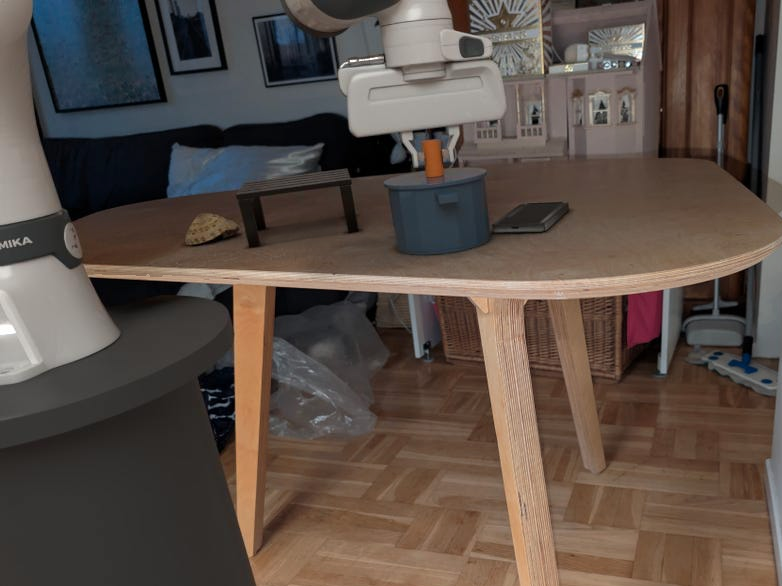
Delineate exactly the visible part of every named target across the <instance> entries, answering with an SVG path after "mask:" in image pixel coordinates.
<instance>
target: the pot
mask: <svg viewBox="0 0 782 586" xmlns="http://www.w3.org/2000/svg"><path fill="white" fill-rule="evenodd" d="M387 190H388V197H389V205H390V210H391V217H392V223H393V230H394V237H395V244H396V246H397V250H398V251H399V252H401V253H403V254H408V255H416V256H417V255H418V256H427V255H430V256H431V255H444V254H451V253H456V252H462V251H467V250H470V249H475V248H476V247H479V246H482V245H484V244H486V243H487V242H489V240H490V237H491V227H490V218H489V217H490V216H489V208H488V207H489V206H488V198H487V196H488V195H487V186H486V176H485V177H483V178H481V179H478V180H475V181H471V182H467V183H462V184H457V185H451V186H444V187H436V188H427V189H412V190H396V189H388V188H387Z"/></svg>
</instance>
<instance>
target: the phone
mask: <svg viewBox="0 0 782 586" xmlns="http://www.w3.org/2000/svg"><path fill="white" fill-rule="evenodd" d="M569 210H570V205H569V201H552V202H551V201H550V202H549V201H548V202H526V203H525V202H524V203H520V204H519V205H517V206H515V207H514V208H513V209H511V210H509V211H508V212H507V213H506V214H503V215H502V216H501V217H499V218H498V219H497V220H495V221H494V222H492V223H491V228H492V233H495V234H509V233H512V234H513V233H541V232H545V231H547V230H549V229H550V228H551V227H552V226H553V225H554V224H556V222H557V221H559V220H560V219H561V218H562V217H563V216H565V214H567V213H568V212H569Z"/></svg>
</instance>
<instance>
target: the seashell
mask: <svg viewBox="0 0 782 586" xmlns="http://www.w3.org/2000/svg"><path fill="white" fill-rule="evenodd" d="M241 228H242V227H240V225H239V224H238V223H236V222H234V221H233V220H230V219H226V218H225V217H224V216H222V215H218V214H214V213H208V212H200V213H199V214H198V215H197V216H196V217H195V218H194V219H193V221H192V222H191V225H190V226H189V228H188V231H187V233H186V235H185V238H184V240H185V245H187V246H192V245H199V244H202V243H206V242H209V241H211V240H214V239H215V238H217V237H219V236H221V237H222V239H226V238H227V237H231V236H233V235H235V234H236V233H238V232H239V231H240V230H241Z"/></svg>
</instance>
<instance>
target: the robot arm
mask: <svg viewBox="0 0 782 586" xmlns="http://www.w3.org/2000/svg"><path fill="white" fill-rule="evenodd" d="M279 1H280V4H281V7H282V9H283V11H284V13H285V14H286V16H287V18H288V19H289V21H290V22H291V23H292V24H293V25H294V26H295V27H296V28H297V29H299V30H300V31H301V32H303V33H305V34H307V35H309V36H312V37H315V38H319V39H331V38H334V37H337V36H340V35H341V34H343V33H345V32H346V31H347V30H348V29H350V28H351V27H353V26H355V25H356V24H359V22H362V21H363V20H365V19H367V18H375V19H376V20H377V21H378V23H379V31H380V39H381V43H382V44H381V45H382V50H383V51H382V52H383V53H377V54H369V55H366V56H351V57H348V58H347V59H346V60H347V61H344V62H342V64H340V66H339V67H338V69H337V74H336V75H337V81H338V88H339V90H340V92H341V94H342V95H343V96H344V97H345V98H346V115H347V124H348V130H349V133H350V134H351V135H353V136H354V137H356V138H364V137H365V138H366V137H372V136H381V135H388V134H389V135H390V134H397V133H398V134H399V137H400V142H401V143H402V144H403V146H404V147H405V148H406V149H407V151H408V152H409V153H410V155H411V162H412V167H413V168H414V169H419V168H425V166H426V164H425V161H424V159H425V156H424V153H423V151H417V150H416V149H415V147H414V146H413V145H412V143H411V142H410V141H413V140H414V133H413V131H421V130H430V129H436V128H438V129H439V128H445V131H446V132H445V133H446V135H448V136H449V138H448V141H447V144H446V146H445V148H441V153H442V161H443V165H447V164H454V163H455V155H454V149H455V147H456V145H457V142H458V140H459V137H460V133H461V132H460V125H461V126H462V125H468V124H477V123H484V122H485V123H486V122H492V121H499V120H503V118H504V117H505V115H506V114H507V111H508V106H507V96H506V91H505V90H506V89H505V85H504V84H505V83H504V80H503V76H502V72H501V70H500V68H499V66H498V65H497V63H496V62H495V61H493V60H492V59H489V58H491V57H492V56H493V53H494V47H493V46H494V45H493V42H492V40H491V39H489V38H487V37H483V36H479V35H474V34H470V33H467V32H462V31H457V30H455V29H454V24H453V16H452V13H451V12H452V11H451V10H450V8H449V4H448V0H279ZM33 11H34V1H33V0H0V385H8V384H15V383H19V382H23V381H25V380H28V379H30V378H33V377H35V376H37V375H39V374H41V373H44V372H46V371H48V370H50V369H53V368H56V367H58V366H61V365H64V364H67V363H70V362H73V361H76V360H79V359H81V358H84V357H86V356H89V355H91V354H93V353H95V352H98V351H100V350H102V349H103V348H105V347H107V346H109V345H110V344H112V343H113V342H114V341H116V340H117V339H118V338H119V336H120V334H121V332H120V330H119V329H118V327H117V326H116V325H115V323H114V322H113V320H112V319H111V317H110V316H109V314H108V313H107V311H106V309H105V308H104V306H103V304H102V303H101V301H102V300H101V299H100V297H99V295H98V293H97V291H96V289H95V287H94V286H93V283H92V281H91V279H90V277H89V274H88V272H87V271H86V268H85V265H84V263H83V262H84V256H83V249H82V246H81V242H80V239H79V236H78V233H77V230H76V227H75V225H74V224H73V222H72V219H71V217H70V214H69V211H68V210H67V209H65V208H63V206H62V204H61V201H60V198H59V194H58V192H57V189H56V186H55V185H56V184H55V183H54V179H53V176H52V173H51V171H50V167H49V163H48V160H47V157H46V155H45V151H44V148H43V145H42V141H41V138H40V135H39V130H38V126H37V120H36V114H35V106H34V97H33V90H32V89H33V88H32V80H31V78H32V77H31V70H30V59H29V49H28V48H29V47H28V35H29V28H30V24H31V20H32V16H33ZM346 66H348V67H346Z"/></svg>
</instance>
